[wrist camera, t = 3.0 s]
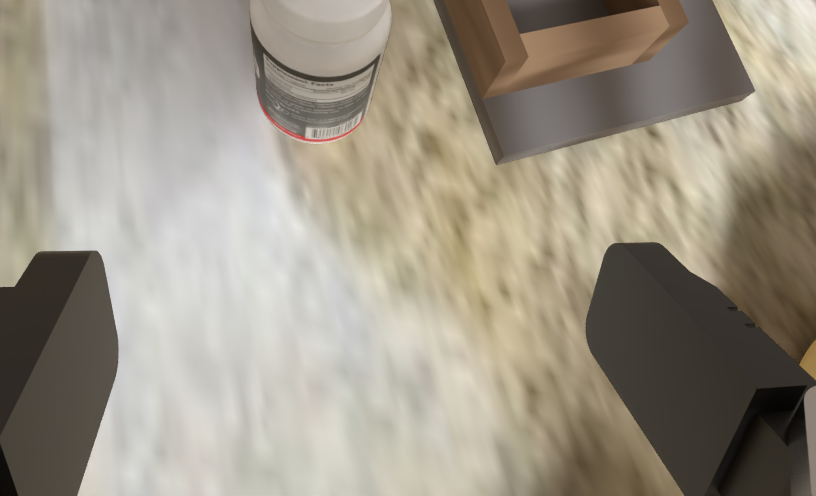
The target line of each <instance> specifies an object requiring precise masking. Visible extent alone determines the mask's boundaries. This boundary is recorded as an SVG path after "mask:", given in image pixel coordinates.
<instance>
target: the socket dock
mask: <svg viewBox="0 0 816 496" xmlns="http://www.w3.org/2000/svg"><path fill="white" fill-rule="evenodd" d="M434 2H435V4H436V7H437V10H438V12H439V15H440V18H441V20H442V23H443V26H444V28H445V31H446V33H447V36H448V39H449V41H450V44H451V47H452V49H453V52H454V55H455V57H456V60H457V62H458V65H459V68H460V70H461V73H462V76H463V78H464V81H465V84H466V86H467V89H468V91H469V94H470V97H471V99H472V102H473V105H474V107H475V110H476V113H477V115H478V118H479V120H480V123H481V126H482V128H483V131H484V134H485V136H486V139H487V142H488V144H489V147H490V149H491V152H492V155H493V157H494V160H495V163H496V165H499V164H502V163H506V162H510V161H514V160H518V159H521V158H525V157H529V156H533V155H537V154H541V153H544V152H548V151H552V150H556V149H560V148H563V147H567V146H571V145H575V144H579V143H583V142H586V141H590V140H594V139H598V138H602V137H605V136H609V135H613V134H617V133H621V132H624V131H628V130H632V129H636V128H640V127H644V126H647V125H651V124H655V123H659V122H663V121H666V120H670V119H674V118H678V117H682V116H686V115H689V114H693V113H697V112H701V111H705V110H708V109H712V108H716V107H720V106H724V105H728V104H731V103H735V102H739V101H742V100H743V99H745V98H746V97H747V96H749V95H750V94H752V93H753V92H755V89H754V87H753V85H752V83H751V81H750V78H749V76H748V74H747V72H746V70H745V68H744V66H743V64H742V62H741V60H740V57H739V55H738V53H737V51H736V49H735V47H734V45H733V43H732V41H731V38H730V36H729V34H728V32H727V30H726V28H725V26H724V24H723V22H722V20H721V17H720V15H719V13H718V11H717V9H716V7H715V5H714V3H713V1H712V0H434Z"/></svg>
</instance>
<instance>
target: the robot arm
mask: <svg viewBox="0 0 816 496" xmlns="http://www.w3.org/2000/svg"><path fill="white" fill-rule="evenodd" d="M586 338H587V343H588V346H589V349H590V351H591V353H592V355H593V356H594V358H595V359H596V361H597V362H598V364H599V365H600V367H601V369H602V370H603V372H604V373H605V375H606V376H607V378H608V379H609V381H610V382H611V384H612V385H613V387H614V388H615V390H616V391H617V393H618V395H619V396H620V398H621V399H622V401H623V402H624V404H625V405H626V407H627V408H628V410H629V411H630V413H631V414H632V416H633V417H634V419H635V420H636V422H637V424H638V425H639V427H640V428H641V430H642V431H643V433H644V434H645V436H646V437H647V439H648V440H649V442H650V443H651V445H652V446H653V448H654V449H655V451H656V453H657V454H658V456H659V457H660V459H661V460H662V462H663V463H664V465H665V466H666V468H667V469H668V471H669V472H670V474H671V475H672V477H673V479H674V480H675V482H676V483H677V485H678V486H679V488H680V489H681V491H682V492H683V494H684V495H685V496H816V380H815V379H814V378H813V377H812V376H811V375H809V374H808V373H807V372H806V371H805V370H804V369H803V368H802V367H801V366H800V365H799V364H798V363H797V362H796V361H795V360H794V359H792V358H791V357H790V356H789V355H788V354H787V353H786V352H785V351H784V350H783V349H782V348H781V347H780V346H779V345H778V344H777V343H775V342H774V341H773V340H772V339H771V338H770V337H769V336H768V335H767V334H766V333H765V332H764V331H763V330H762V329H761V328H755V323H754V322H753V321H752V320H751V319H750V318H749V317H748V316H747V315H746V314H745V313H744V312H742V311H738V310H737V306H736V305H735V304H734V303H733V302H732V301H731V300H730V299H729V298H728V297H727V296H725V295H724V294H723V293H722V292H721V291H720V290H719V289H718V288H717V287H716V286H714V285H712V284H710V283H709V282H707V281H705V280H703V279H702V278H700V277H698V276H697V275H695V274H693V273H691V272H690V271H689V270H688V269H687V268H686V267H684V266H683V265H682V264H681V263H680V262H679V261H678V260H677V259H676V258H675V257H674V256H673V255H672V254H671V253H670V252H669V251H668V250H667V249H666V248H665V247H664V246H662V245H661V244H659V243H655V242H650V243H614V244H612V245H611V246H610V247H609V248H608V249H607V251H606V253H605V255H604V258H603V261H602V265H601V268H600V272H599V275H598V279H597V283H596V286H595V290H594V293H593V297H592V300H591V304H590V307H589V311H588V314H587V318H586ZM117 366H118V337H117V331H116V325H115V320H114V315H113V310H112V304H111V299H110V294H109V289H108V283H107V278H106V273H105V268H104V263H103V260H102V257H101V255H100V254H99V252H98V251H42V252H38V253H37V254H36V255H35V256H34V258H33V259H32V261H31V262H30V264H29V265H28V267H27V268H26V270H25V272H24V273H23V275H22V276H21V278H20V279H19V281H18V283H17V284H16V286H15V287H0V496H77V494H78V491H79V488H80V485H81V482H82V479H83V476H84V473H85V470H86V467H87V463H88V460H89V457H90V454H91V451H92V448H93V445H94V442H95V439H96V436H97V433H98V430H99V427H100V423H101V420H102V417H103V414H104V411H105V408H106V405H107V402H108V399H109V396H110V393H111V390H112V387H113V383H114V380H115V377H116V372H117Z"/></svg>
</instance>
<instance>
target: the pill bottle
mask: <svg viewBox="0 0 816 496" xmlns="http://www.w3.org/2000/svg"><path fill="white" fill-rule="evenodd" d="M249 8H250V25H251V34H252V43H253V53H254V63H255V75H256V88H257V94H258V99H259V103H260V106H261V108H262V110H263V112H264V114H265V116H266V117H267V119H268V120H269V121H270V122H271V123H272V124H273V125H274V126H275V127H276V128H277V129H278V130H279V131H281V132H282V133H283V134H285V135H287V136H288V137H290V138H292V139H295V140H297V141H300V142H304V143H310V144H324V143H330V142H334V141H337V140H340V139H342V138H344V137H346V136H348V135H349V134H350V133H352V132H353V131H354V130H355V129H356V128H357V127H358V126H359V125H360V124H361V123H362V121H363V120H364V118H365V116H366V114H367V112H368V109H369V106H370V102H371V100H372V95H373V91H374V87H375V84H376V80H377V76H378V73H379V69H380V66H381V62H382V59H383V55H384V51H385V48H386V44H387V41H388V37H389V33H390V28H391V19H392V12H391V5H390V1H389V0H250V3H249Z"/></svg>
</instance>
